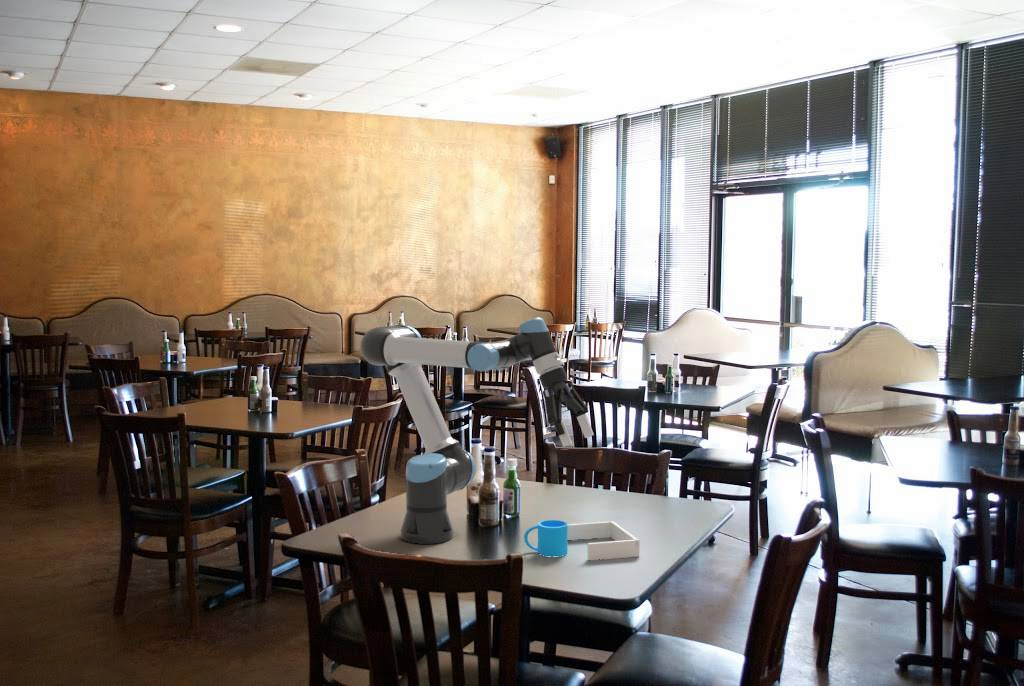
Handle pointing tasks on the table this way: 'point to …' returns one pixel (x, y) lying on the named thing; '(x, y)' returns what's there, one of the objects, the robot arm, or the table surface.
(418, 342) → the robot arm
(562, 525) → the mug
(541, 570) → the table surface
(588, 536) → the box
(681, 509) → the table surface
